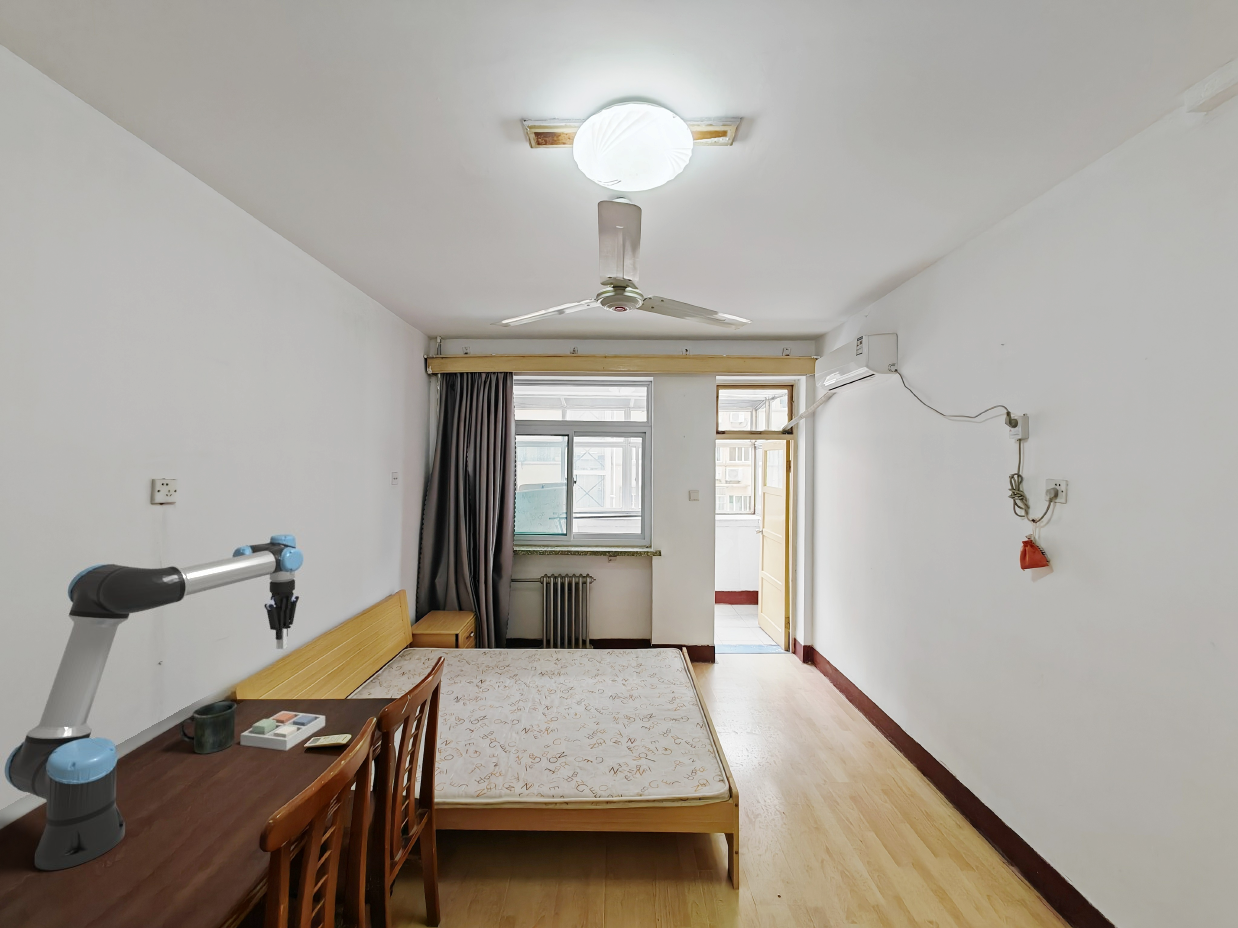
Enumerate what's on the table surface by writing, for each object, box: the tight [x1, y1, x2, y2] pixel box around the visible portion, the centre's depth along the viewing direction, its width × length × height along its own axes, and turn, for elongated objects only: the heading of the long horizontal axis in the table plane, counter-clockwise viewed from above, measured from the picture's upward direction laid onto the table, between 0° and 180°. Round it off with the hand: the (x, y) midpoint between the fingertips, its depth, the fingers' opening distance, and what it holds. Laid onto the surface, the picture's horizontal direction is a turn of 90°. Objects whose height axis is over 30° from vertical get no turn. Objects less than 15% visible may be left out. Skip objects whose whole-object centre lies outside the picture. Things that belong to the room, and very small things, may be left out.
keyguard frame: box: [240, 710, 326, 752], centre depth 183 cm, size 17×17×3 cm
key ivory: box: [274, 726, 297, 738], centre depth 179 cm, size 5×5×3 cm
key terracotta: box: [272, 713, 295, 724], centre depth 188 cm, size 5×5×3 cm
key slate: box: [293, 715, 315, 726], centre depth 187 cm, size 5×5×3 cm
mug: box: [179, 701, 237, 755], centre depth 175 cm, size 11×15×12 cm
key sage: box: [251, 718, 276, 734], centre depth 180 cm, size 5×5×3 cm
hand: (281, 647), depth 191 cm, fingers closed
